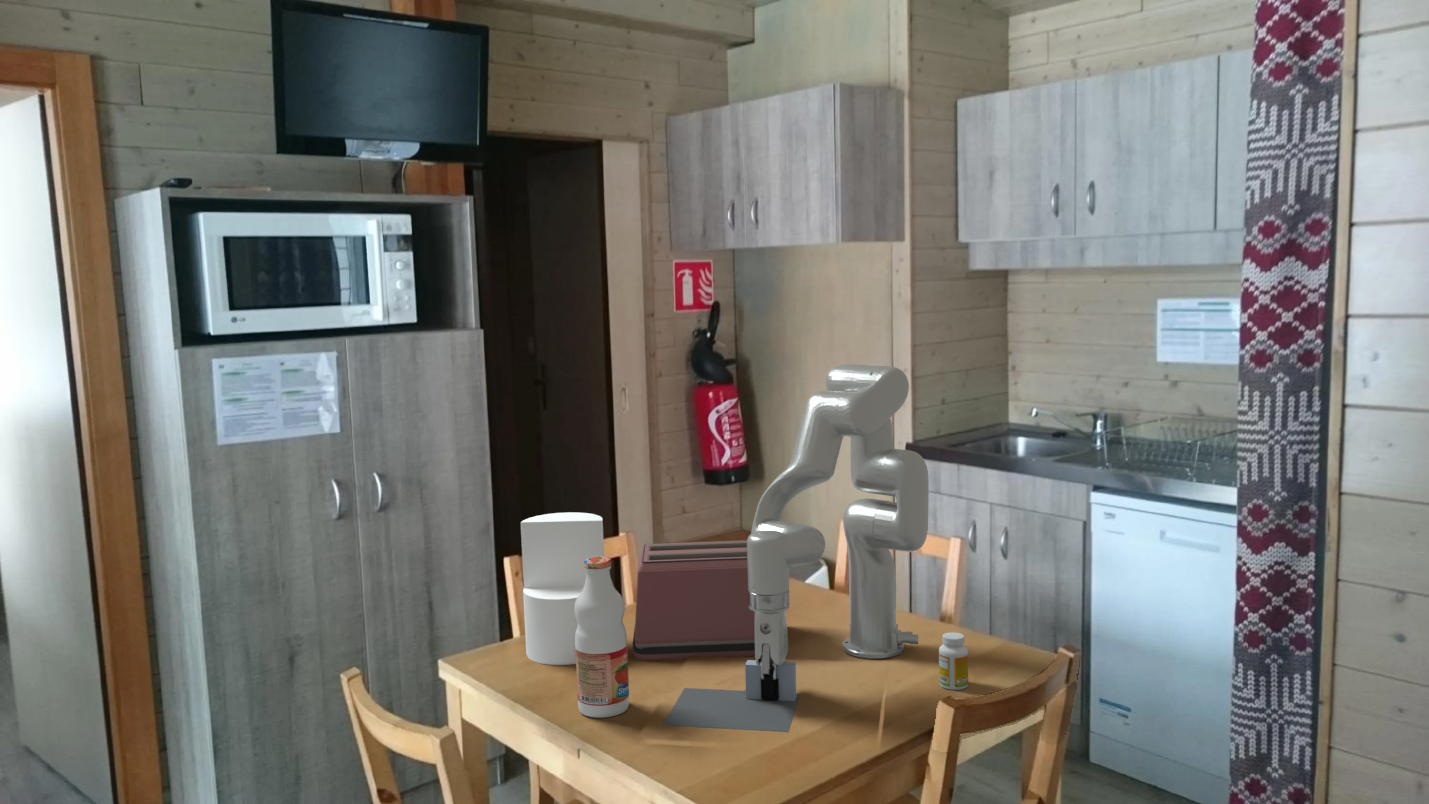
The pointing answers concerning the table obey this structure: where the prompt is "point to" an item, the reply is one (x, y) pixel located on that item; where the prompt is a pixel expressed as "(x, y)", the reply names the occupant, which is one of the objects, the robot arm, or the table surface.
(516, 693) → the table surface
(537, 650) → the cylinder
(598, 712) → the fruit juice
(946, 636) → the supplement bottle
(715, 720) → the mat
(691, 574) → the toaster
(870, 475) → the robot arm
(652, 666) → the table surface
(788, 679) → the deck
